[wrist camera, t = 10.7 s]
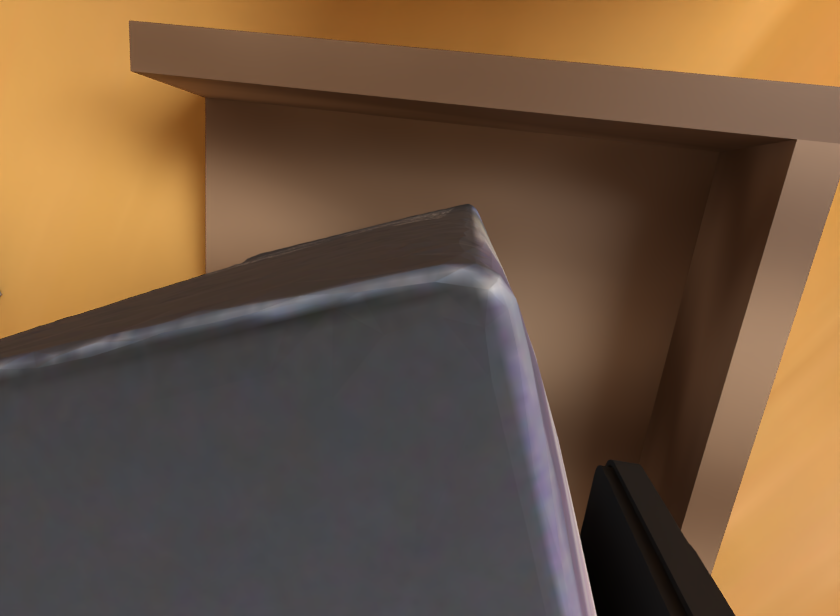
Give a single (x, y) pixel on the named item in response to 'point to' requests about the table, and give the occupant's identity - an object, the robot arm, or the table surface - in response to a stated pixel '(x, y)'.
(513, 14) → the table surface
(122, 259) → the table surface
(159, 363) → the small box
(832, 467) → the table surface
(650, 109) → the holder
